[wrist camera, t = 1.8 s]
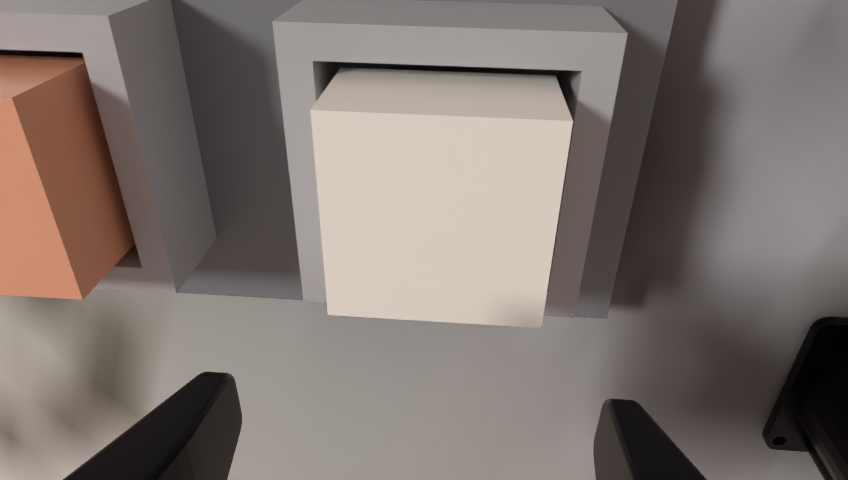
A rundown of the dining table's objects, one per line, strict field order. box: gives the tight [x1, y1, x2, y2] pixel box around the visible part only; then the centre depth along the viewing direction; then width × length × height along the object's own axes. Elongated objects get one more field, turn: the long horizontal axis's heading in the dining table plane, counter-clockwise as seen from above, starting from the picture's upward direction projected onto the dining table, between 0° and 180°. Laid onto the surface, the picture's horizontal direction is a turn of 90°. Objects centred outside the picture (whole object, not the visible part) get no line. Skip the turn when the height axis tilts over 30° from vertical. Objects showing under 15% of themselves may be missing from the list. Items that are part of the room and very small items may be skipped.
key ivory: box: [310, 68, 573, 328], centre depth 14 cm, size 5×5×3 cm
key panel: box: [0, 0, 678, 318], centre depth 17 cm, size 12×22×5 cm, turn 89°
